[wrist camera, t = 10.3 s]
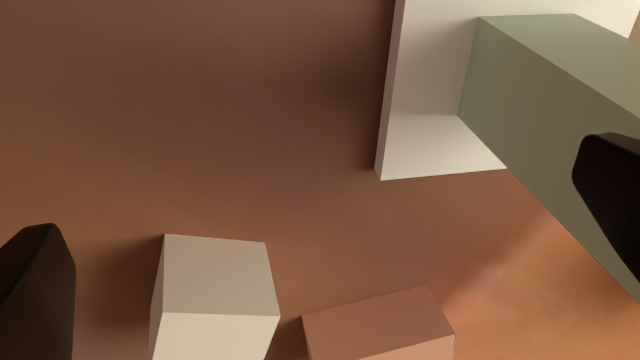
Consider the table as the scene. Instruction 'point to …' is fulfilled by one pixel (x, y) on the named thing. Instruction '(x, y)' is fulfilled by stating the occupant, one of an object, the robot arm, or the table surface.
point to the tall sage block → (553, 109)
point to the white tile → (452, 79)
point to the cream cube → (212, 300)
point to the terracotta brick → (382, 329)
